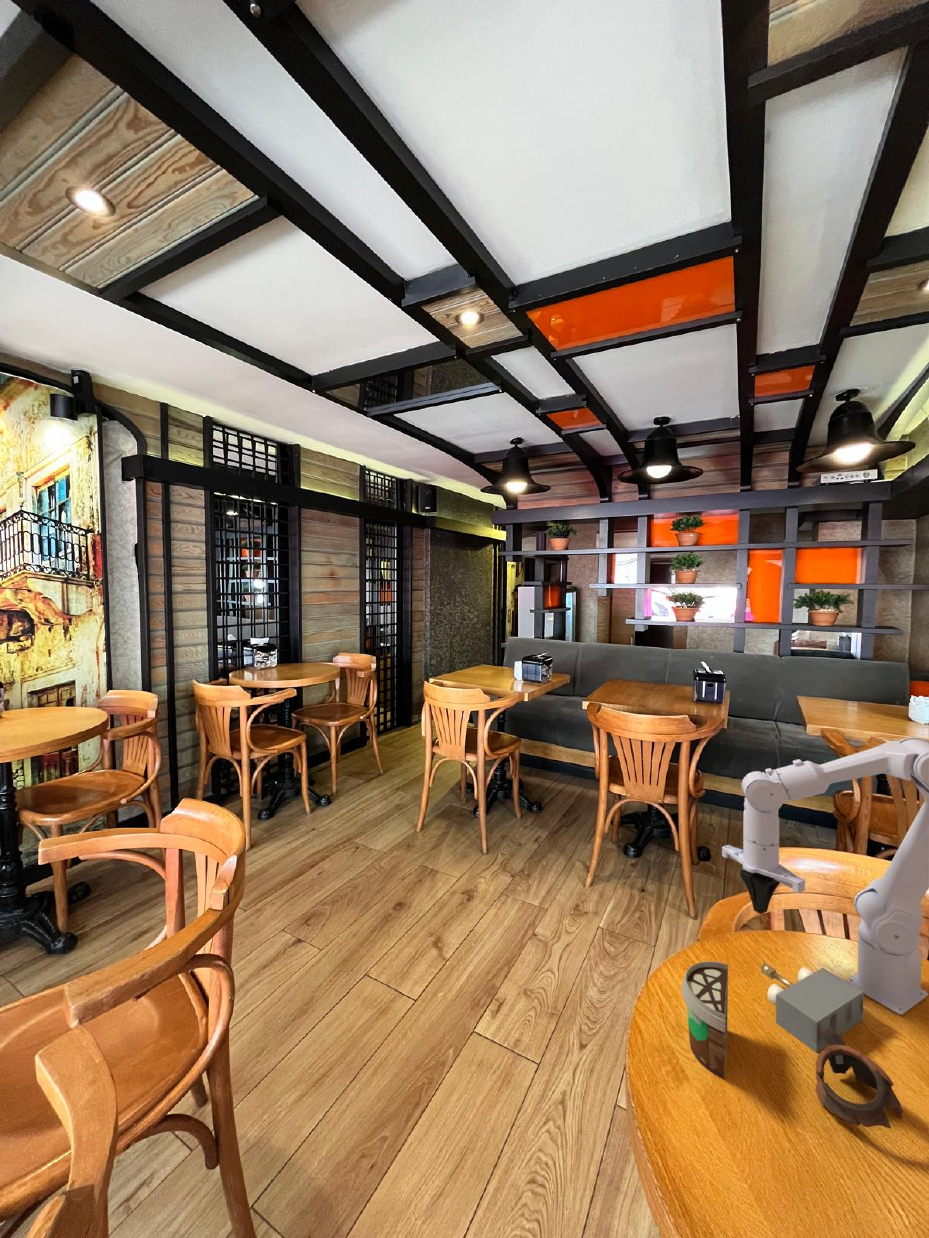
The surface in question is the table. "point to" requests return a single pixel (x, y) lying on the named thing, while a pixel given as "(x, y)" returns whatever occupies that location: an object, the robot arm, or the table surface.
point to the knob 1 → (773, 993)
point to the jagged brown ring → (864, 1074)
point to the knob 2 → (804, 973)
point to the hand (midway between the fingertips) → (760, 910)
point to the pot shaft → (774, 974)
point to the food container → (707, 1013)
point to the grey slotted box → (819, 1007)
